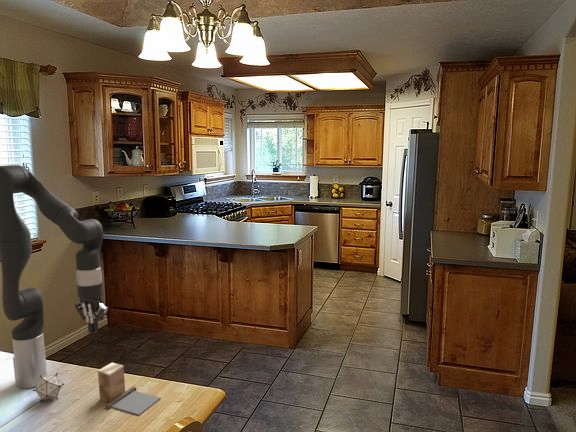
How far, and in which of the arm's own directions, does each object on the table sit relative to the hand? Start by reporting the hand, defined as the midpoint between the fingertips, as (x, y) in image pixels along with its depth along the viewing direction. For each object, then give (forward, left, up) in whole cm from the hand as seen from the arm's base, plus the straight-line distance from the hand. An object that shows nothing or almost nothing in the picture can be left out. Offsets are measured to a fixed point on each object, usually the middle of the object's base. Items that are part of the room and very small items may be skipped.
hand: (93, 332), depth 146 cm
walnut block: (+6, 0, -21) cm, 22 cm away
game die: (-12, -9, -21) cm, 26 cm away
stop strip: (+10, 0, -21) cm, 23 cm away
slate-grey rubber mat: (+16, 0, -21) cm, 27 cm away
